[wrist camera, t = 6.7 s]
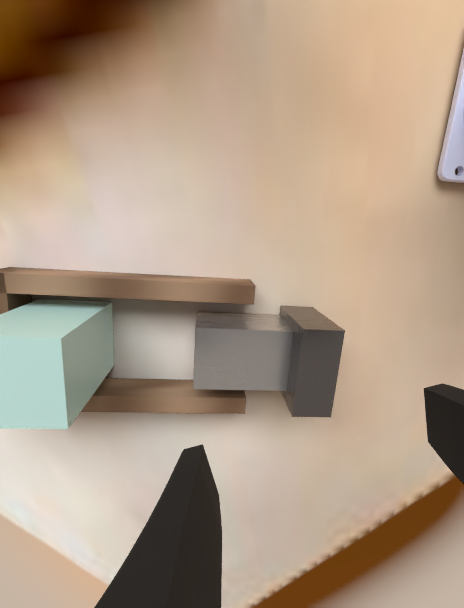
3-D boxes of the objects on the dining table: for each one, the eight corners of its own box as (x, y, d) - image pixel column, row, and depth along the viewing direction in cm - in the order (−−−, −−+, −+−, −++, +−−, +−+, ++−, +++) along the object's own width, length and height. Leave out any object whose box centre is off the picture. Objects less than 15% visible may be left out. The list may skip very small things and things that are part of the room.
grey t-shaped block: (312, 307, 18) (344, 330, 14) (303, 375, 19) (330, 416, 15) (198, 302, 17) (194, 324, 13) (195, 372, 18) (191, 415, 14)
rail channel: (250, 279, 17) (255, 285, 15) (241, 395, 19) (244, 413, 17) (9, 267, 16) (-18, 272, 14) (24, 391, 18) (1, 410, 16)
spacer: (112, 302, 17) (60, 338, 11) (114, 365, 18) (68, 429, 12) (40, 298, 17) (-52, 334, 11) (45, 363, 18) (-36, 428, 12)
